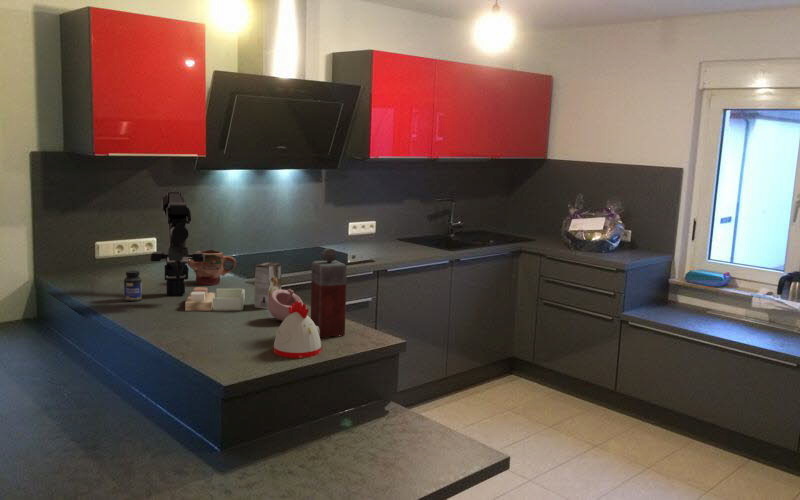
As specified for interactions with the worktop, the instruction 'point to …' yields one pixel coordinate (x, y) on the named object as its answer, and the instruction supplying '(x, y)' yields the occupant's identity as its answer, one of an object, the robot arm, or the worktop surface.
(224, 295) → the tray
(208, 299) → the oak board
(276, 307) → the mortar and pestle
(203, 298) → the offwhite tile
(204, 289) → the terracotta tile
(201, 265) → the decorative planter
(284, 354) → the kitchen timer
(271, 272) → the coffee box
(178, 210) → the robot arm
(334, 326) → the red square decanter
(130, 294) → the pill bottle
